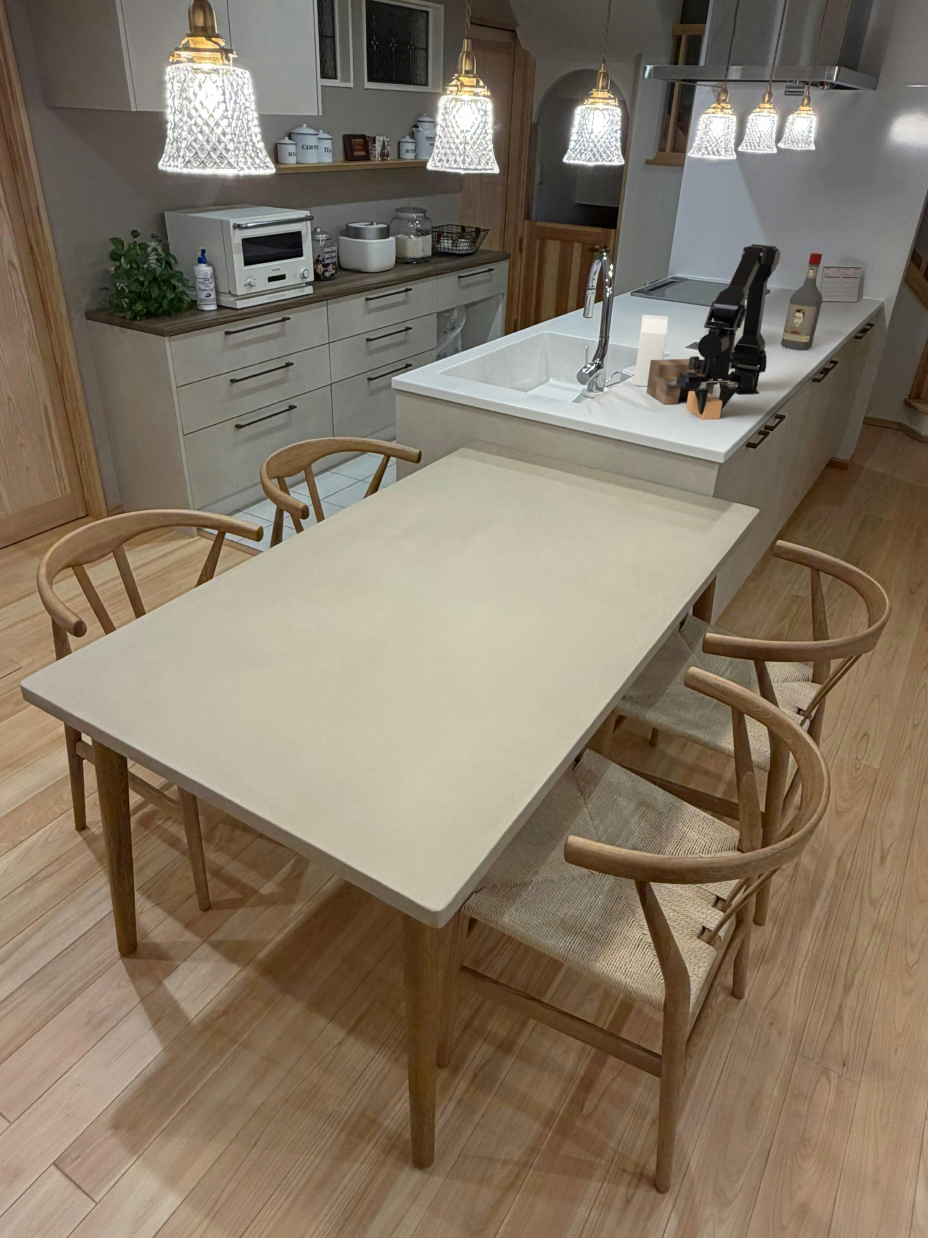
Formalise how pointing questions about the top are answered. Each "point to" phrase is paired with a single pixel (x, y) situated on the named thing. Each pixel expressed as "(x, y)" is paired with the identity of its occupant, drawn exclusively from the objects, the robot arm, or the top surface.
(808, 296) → the liquor
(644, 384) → the milk carton
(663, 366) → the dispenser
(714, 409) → the orange rectangular block
